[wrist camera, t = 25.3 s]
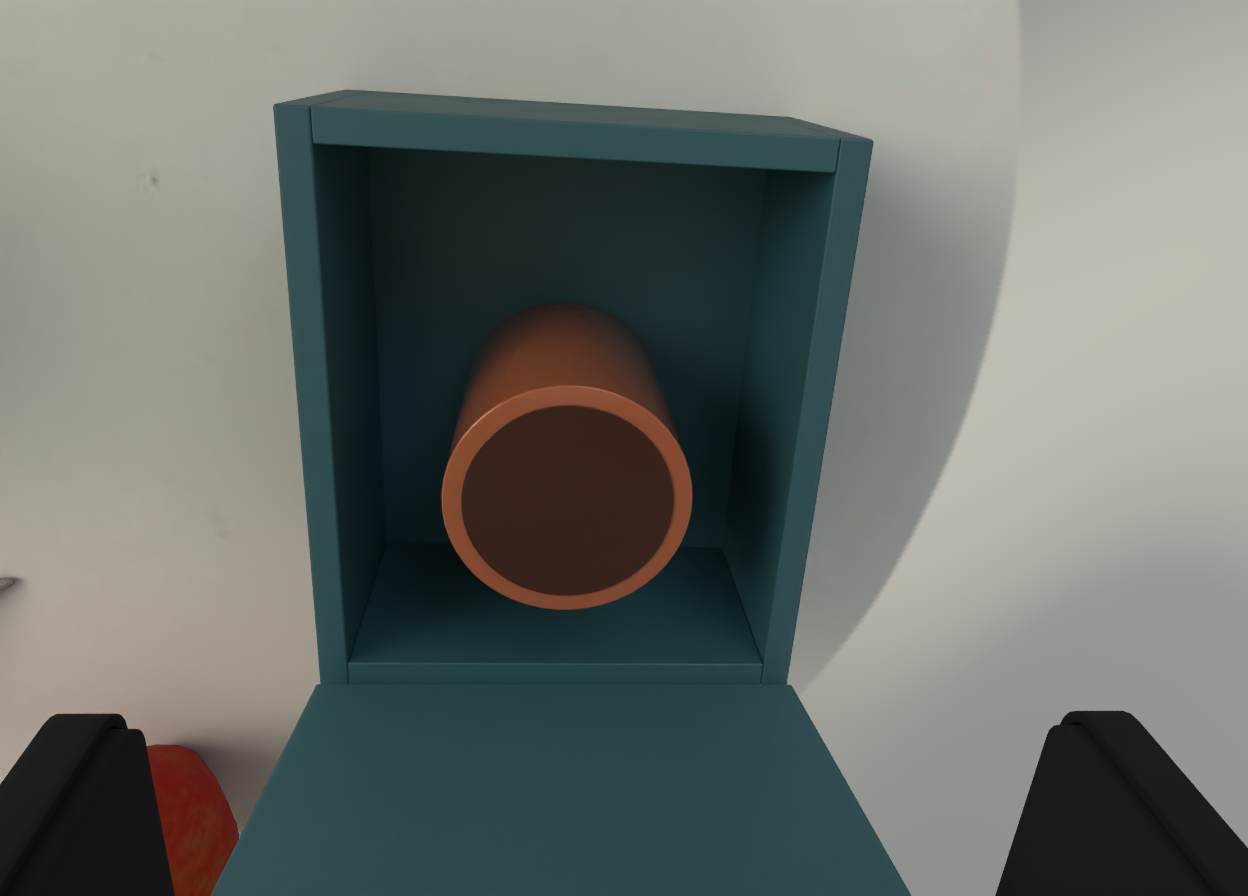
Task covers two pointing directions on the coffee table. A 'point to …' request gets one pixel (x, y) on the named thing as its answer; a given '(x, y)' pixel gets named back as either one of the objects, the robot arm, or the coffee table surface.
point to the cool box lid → (557, 797)
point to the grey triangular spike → (5, 583)
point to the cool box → (560, 273)
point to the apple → (192, 819)
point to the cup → (565, 462)
